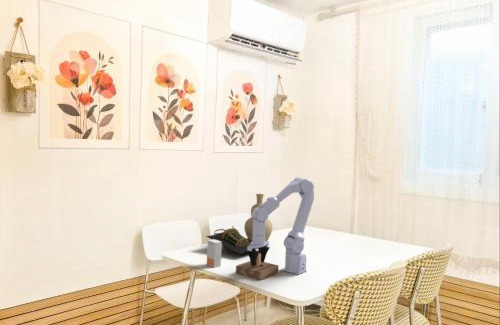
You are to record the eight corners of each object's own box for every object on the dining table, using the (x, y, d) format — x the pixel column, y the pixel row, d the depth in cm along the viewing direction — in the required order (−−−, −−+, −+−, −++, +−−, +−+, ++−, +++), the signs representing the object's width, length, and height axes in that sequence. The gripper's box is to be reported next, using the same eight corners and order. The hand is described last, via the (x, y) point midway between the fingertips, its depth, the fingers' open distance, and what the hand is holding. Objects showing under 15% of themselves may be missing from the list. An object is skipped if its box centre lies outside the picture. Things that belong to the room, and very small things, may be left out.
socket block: (278, 272, 183) (278, 265, 183) (261, 280, 171) (261, 272, 171) (253, 266, 191) (253, 259, 191) (235, 273, 180) (236, 265, 179)
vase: (277, 246, 234) (279, 195, 233) (254, 249, 224) (256, 196, 223) (260, 240, 247) (262, 192, 246) (238, 242, 238) (240, 193, 237)
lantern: (235, 266, 203) (195, 241, 219) (259, 261, 221) (221, 238, 238) (243, 242, 201) (202, 218, 218) (267, 239, 220) (228, 217, 237)
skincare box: (206, 264, 191) (207, 240, 190) (213, 263, 194) (214, 239, 193) (214, 267, 186) (215, 242, 186) (221, 266, 189) (222, 241, 189)
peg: (261, 273, 181) (262, 253, 181) (257, 274, 179) (258, 254, 179) (256, 271, 183) (257, 252, 183) (252, 273, 181) (253, 253, 181)
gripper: (260, 230, 189) (259, 258, 189) (242, 235, 177) (241, 265, 177) (273, 232, 185) (271, 261, 185) (255, 237, 173) (253, 268, 173)
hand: (257, 263), depth 181 cm, fingers open, 6 cm apart
